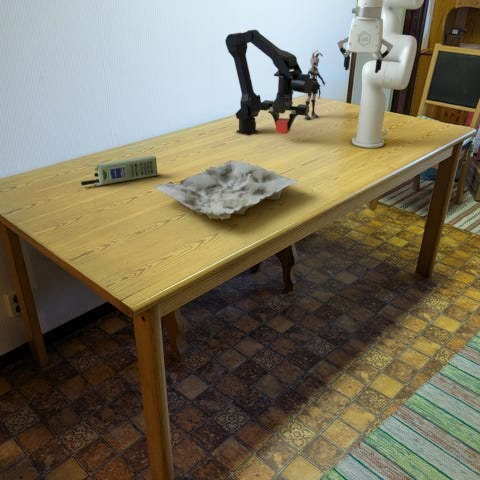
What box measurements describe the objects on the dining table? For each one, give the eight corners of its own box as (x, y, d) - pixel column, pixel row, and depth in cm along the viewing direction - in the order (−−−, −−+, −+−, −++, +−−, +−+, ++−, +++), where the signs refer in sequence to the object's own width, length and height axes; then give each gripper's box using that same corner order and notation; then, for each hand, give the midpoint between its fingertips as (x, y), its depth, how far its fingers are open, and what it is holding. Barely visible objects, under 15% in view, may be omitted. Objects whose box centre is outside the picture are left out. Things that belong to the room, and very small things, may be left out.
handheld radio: (158, 176, 170) (83, 189, 160) (155, 173, 172) (80, 186, 162) (156, 157, 167) (79, 169, 157) (153, 154, 169) (77, 166, 159)
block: (279, 129, 205) (280, 117, 202) (290, 130, 203) (291, 119, 201) (275, 132, 201) (276, 121, 199) (286, 134, 199) (287, 122, 197)
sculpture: (145, 207, 151) (219, 236, 133) (144, 188, 148) (218, 215, 130) (230, 174, 176) (301, 195, 158) (230, 157, 173) (302, 177, 155)
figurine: (304, 121, 228) (309, 51, 213) (294, 118, 232) (298, 49, 217) (325, 115, 237) (331, 47, 222) (315, 113, 240) (320, 46, 226)
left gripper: (255, 91, 191) (253, 131, 198) (302, 96, 184) (299, 138, 192) (265, 85, 200) (264, 124, 207) (311, 90, 193) (307, 130, 201)
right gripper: (338, 13, 155) (332, 70, 164) (396, 15, 149) (387, 75, 158) (343, 10, 161) (337, 66, 170) (399, 13, 155) (390, 71, 164)
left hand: (283, 129), depth 202 cm, fingers closed on block, 4 cm apart
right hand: (361, 70), depth 164 cm, fingers open, 9 cm apart
